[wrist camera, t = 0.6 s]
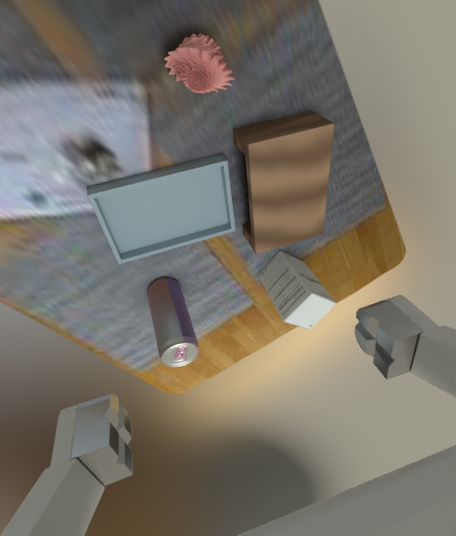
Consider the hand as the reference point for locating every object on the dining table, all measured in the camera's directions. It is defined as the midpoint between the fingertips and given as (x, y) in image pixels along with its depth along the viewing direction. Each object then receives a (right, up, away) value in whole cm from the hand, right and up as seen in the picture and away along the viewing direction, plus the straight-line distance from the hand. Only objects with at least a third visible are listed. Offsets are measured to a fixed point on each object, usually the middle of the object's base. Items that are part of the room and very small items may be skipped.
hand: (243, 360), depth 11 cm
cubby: (+7, +17, +42) cm, 46 cm away
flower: (-4, +27, +29) cm, 40 cm away
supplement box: (+10, +3, +56) cm, 57 cm away
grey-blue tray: (-10, +12, +39) cm, 42 cm away
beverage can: (-12, -1, +49) cm, 51 cm away
